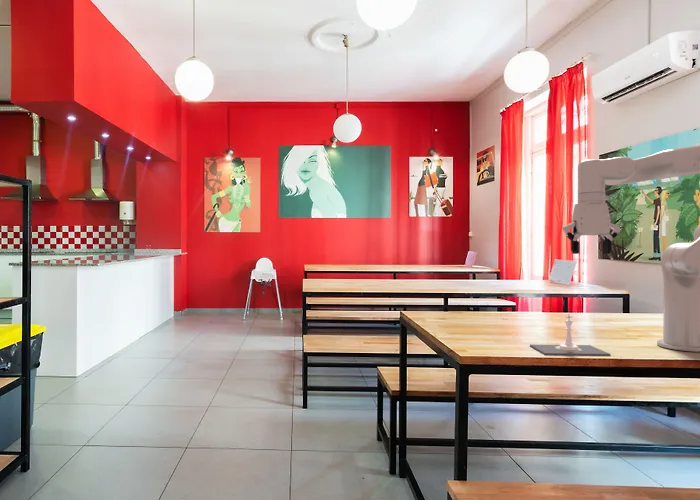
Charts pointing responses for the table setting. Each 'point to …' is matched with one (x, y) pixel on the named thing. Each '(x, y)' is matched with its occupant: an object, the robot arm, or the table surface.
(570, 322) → the chess piece
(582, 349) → the mat
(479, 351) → the table surface
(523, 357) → the table surface
